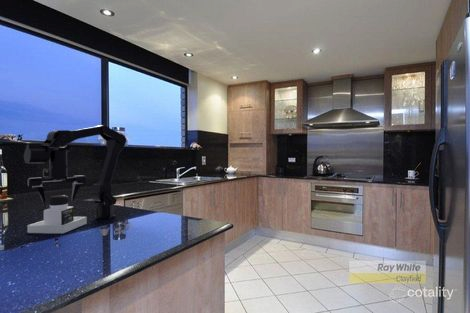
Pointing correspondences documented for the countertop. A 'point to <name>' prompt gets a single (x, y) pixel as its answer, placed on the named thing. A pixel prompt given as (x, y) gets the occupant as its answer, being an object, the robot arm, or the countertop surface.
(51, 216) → the medicine bottle
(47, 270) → the countertop surface
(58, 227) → the grey square tray
